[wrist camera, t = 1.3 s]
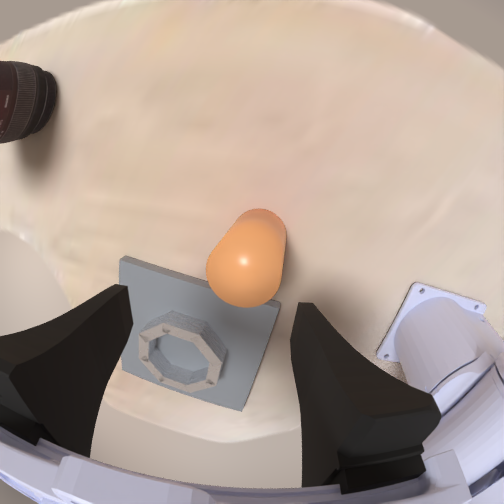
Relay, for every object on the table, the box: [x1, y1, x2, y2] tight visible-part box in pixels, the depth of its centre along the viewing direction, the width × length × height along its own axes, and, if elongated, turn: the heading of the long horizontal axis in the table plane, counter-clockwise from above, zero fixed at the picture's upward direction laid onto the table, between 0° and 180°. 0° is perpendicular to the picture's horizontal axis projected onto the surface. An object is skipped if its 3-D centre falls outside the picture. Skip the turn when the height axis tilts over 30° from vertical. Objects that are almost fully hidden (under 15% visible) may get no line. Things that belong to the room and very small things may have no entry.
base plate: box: [119, 256, 280, 412], centre depth 26 cm, size 14×14×1 cm
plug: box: [206, 209, 286, 308], centre depth 19 cm, size 4×4×7 cm
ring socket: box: [139, 310, 227, 393], centre depth 25 cm, size 8×8×2 cm
